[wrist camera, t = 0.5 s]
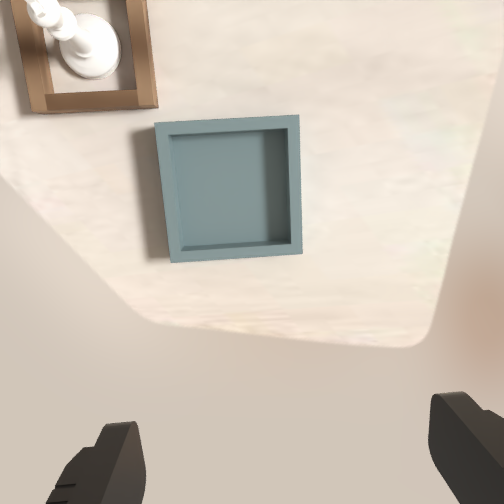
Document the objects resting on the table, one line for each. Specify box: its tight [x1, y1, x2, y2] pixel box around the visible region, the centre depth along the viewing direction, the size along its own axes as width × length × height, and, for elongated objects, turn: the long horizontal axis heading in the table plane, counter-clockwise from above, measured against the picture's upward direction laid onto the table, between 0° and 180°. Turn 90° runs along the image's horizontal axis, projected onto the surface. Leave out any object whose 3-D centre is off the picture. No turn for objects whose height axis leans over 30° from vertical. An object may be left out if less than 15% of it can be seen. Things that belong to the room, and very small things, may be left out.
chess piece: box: [25, 0, 121, 80], centre depth 26 cm, size 5×5×10 cm
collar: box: [10, 0, 158, 114], centre depth 29 cm, size 10×10×2 cm
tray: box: [154, 115, 303, 263], centre depth 32 cm, size 12×12×3 cm
